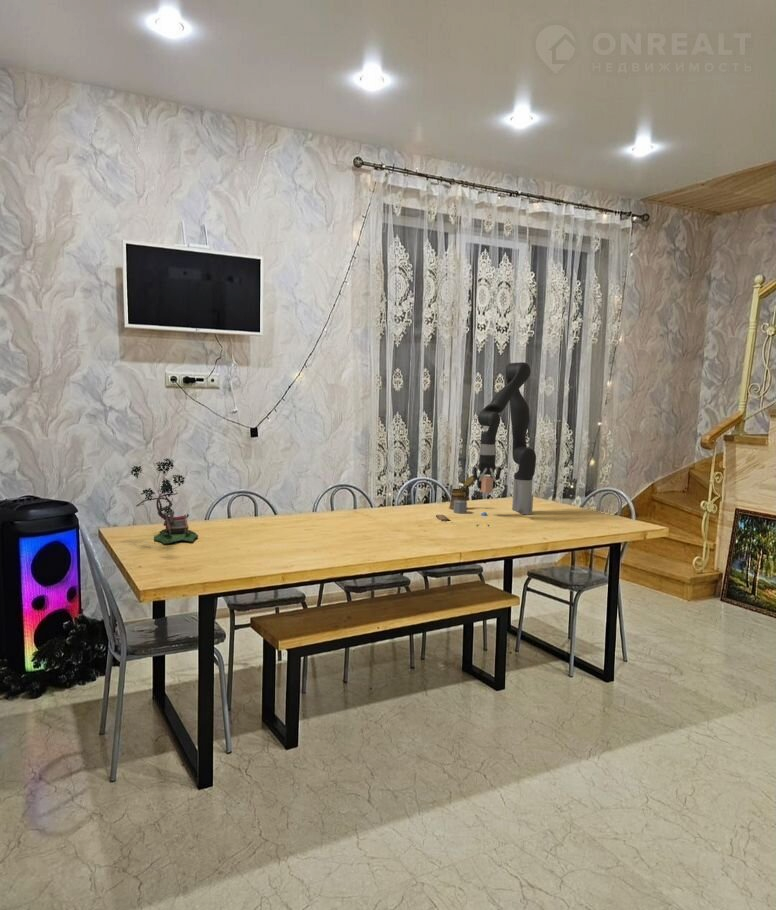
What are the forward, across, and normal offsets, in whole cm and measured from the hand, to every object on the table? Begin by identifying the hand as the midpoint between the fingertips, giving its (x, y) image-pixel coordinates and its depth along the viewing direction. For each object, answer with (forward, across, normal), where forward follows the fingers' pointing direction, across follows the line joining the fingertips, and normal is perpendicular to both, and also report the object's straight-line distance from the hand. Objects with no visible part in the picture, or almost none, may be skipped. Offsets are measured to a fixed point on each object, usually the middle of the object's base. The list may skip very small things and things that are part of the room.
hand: (486, 488), depth 337 cm
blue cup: (+14, +10, -7) cm, 19 cm away
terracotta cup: (+2, 0, 0) cm, 2 cm away
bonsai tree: (+13, +141, +42) cm, 148 cm away
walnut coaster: (+14, +18, +2) cm, 23 cm away
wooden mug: (+15, +6, -18) cm, 24 cm away
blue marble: (+13, 0, 0) cm, 13 cm away
